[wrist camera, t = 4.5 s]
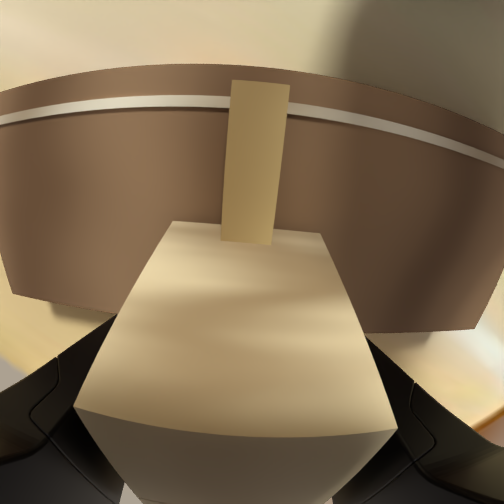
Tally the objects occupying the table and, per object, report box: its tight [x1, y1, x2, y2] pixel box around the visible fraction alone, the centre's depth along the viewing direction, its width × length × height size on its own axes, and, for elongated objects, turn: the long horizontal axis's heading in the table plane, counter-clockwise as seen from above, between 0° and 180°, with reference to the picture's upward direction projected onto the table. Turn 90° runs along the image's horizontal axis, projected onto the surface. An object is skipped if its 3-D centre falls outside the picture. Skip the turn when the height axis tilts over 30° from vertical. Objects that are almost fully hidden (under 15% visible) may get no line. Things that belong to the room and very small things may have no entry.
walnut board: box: [0, 64, 504, 333], centre depth 9 cm, size 20×8×3 cm, turn 85°
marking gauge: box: [73, 80, 398, 504], centre depth 7 cm, size 4×9×8 cm, turn 175°
